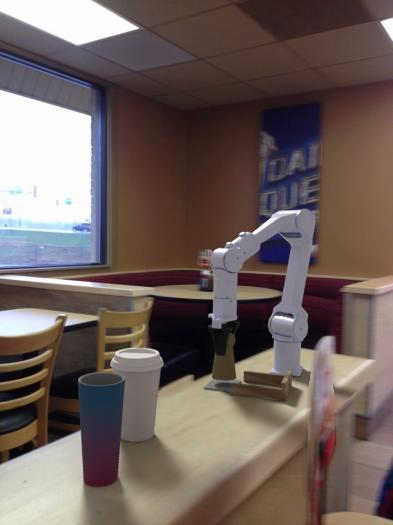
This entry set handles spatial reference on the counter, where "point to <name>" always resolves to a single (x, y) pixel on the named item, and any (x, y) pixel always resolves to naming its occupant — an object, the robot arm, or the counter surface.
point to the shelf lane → (264, 391)
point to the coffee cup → (138, 391)
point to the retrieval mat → (221, 385)
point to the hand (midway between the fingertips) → (223, 352)
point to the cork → (225, 363)
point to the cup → (101, 425)
